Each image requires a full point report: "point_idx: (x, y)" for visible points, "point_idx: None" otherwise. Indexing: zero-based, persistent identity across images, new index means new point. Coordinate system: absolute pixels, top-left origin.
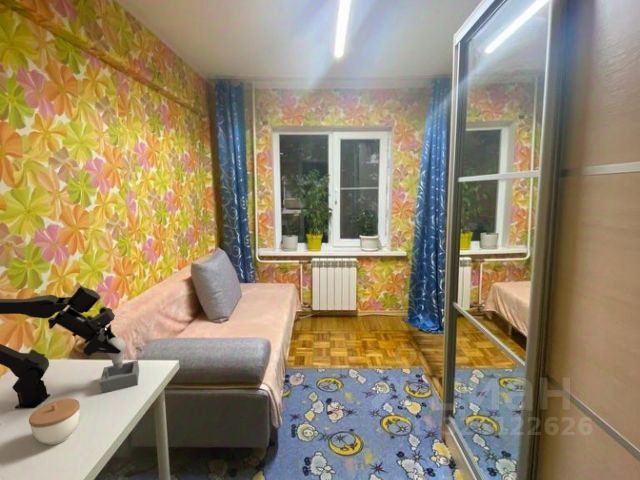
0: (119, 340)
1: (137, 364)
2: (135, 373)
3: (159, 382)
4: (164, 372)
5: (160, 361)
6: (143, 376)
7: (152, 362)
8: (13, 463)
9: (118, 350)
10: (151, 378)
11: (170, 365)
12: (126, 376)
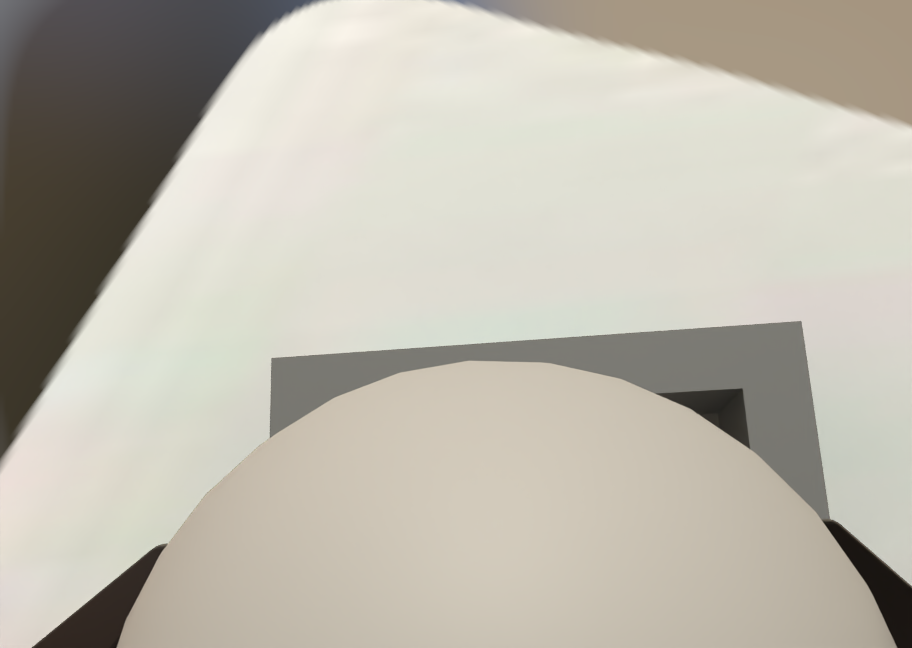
0: (665, 546)
1: (410, 351)
2: (780, 334)
3: (796, 102)
4: (541, 74)
5: (203, 153)
6: (531, 317)
7: (176, 247)
8: None
9: (891, 589)
10: (638, 210)
11: (381, 26)
12: (822, 475)
